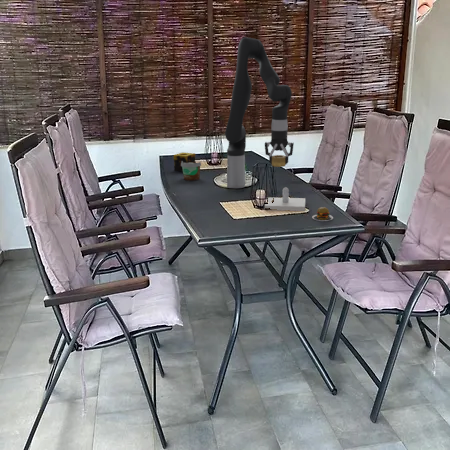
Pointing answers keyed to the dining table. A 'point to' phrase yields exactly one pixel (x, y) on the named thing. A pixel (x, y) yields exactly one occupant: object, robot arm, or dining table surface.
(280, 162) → the ring
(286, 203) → the post stand
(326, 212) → the hamburger
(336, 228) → the dining table surface
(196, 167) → the food container
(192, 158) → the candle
